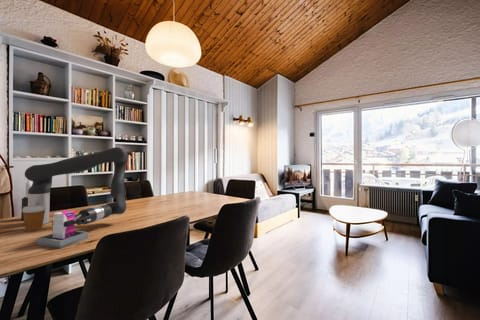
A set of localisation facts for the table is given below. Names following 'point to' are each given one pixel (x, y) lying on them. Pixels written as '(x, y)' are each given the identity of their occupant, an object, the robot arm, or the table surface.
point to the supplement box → (58, 225)
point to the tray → (57, 243)
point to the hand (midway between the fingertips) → (58, 223)
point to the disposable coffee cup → (33, 217)
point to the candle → (25, 198)
